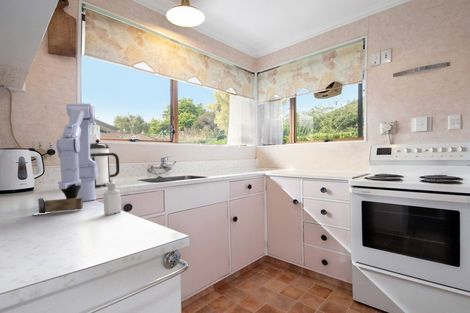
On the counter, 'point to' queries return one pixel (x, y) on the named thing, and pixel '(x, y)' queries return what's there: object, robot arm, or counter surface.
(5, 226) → the counter surface
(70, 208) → the gate
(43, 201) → the gate post
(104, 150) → the coffee press
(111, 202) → the eye dropper bottle
